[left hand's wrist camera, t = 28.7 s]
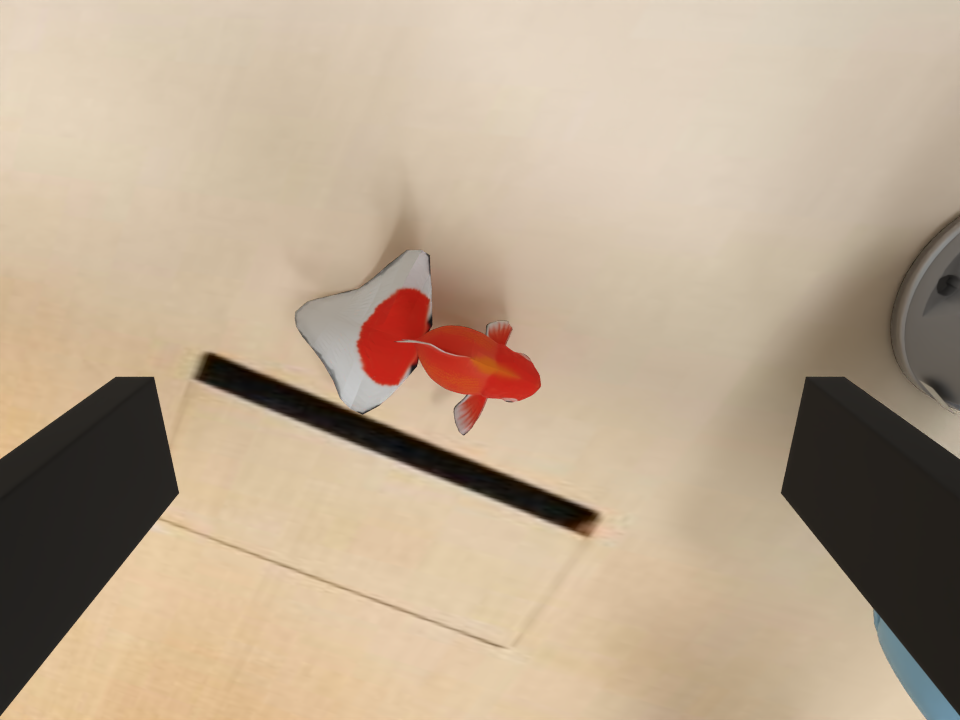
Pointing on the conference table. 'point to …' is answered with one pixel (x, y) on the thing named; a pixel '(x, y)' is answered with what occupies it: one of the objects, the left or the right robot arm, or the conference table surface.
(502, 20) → the conference table surface
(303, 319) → the fish
